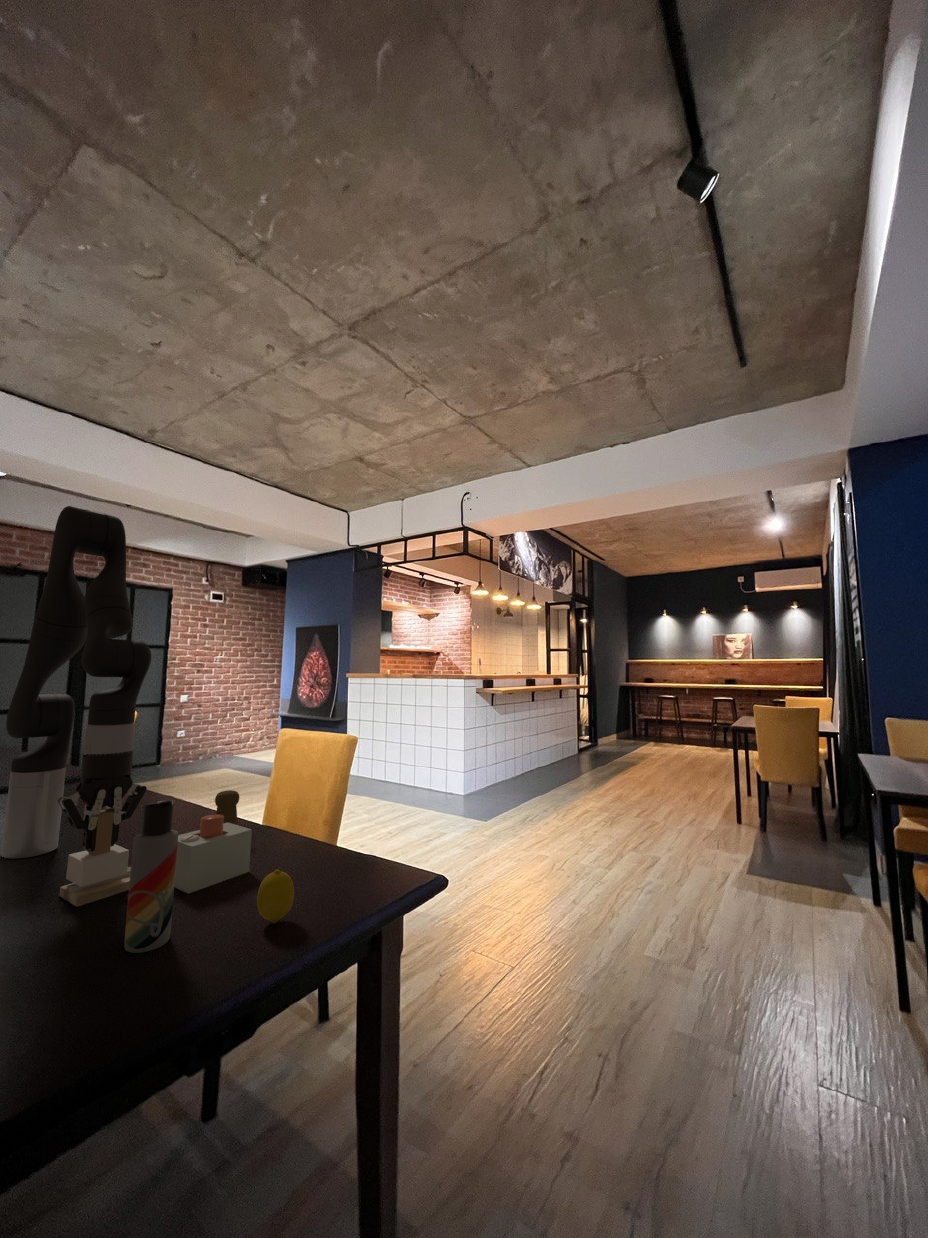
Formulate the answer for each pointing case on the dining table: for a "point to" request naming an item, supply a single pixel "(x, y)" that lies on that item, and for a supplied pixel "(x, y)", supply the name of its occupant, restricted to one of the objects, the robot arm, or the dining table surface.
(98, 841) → the carriage
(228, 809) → the dark brown knob shape
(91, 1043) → the dining table surface
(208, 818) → the gauge plunger
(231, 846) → the cabinet
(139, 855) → the lotion bottle
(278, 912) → the lemon
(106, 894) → the rail
